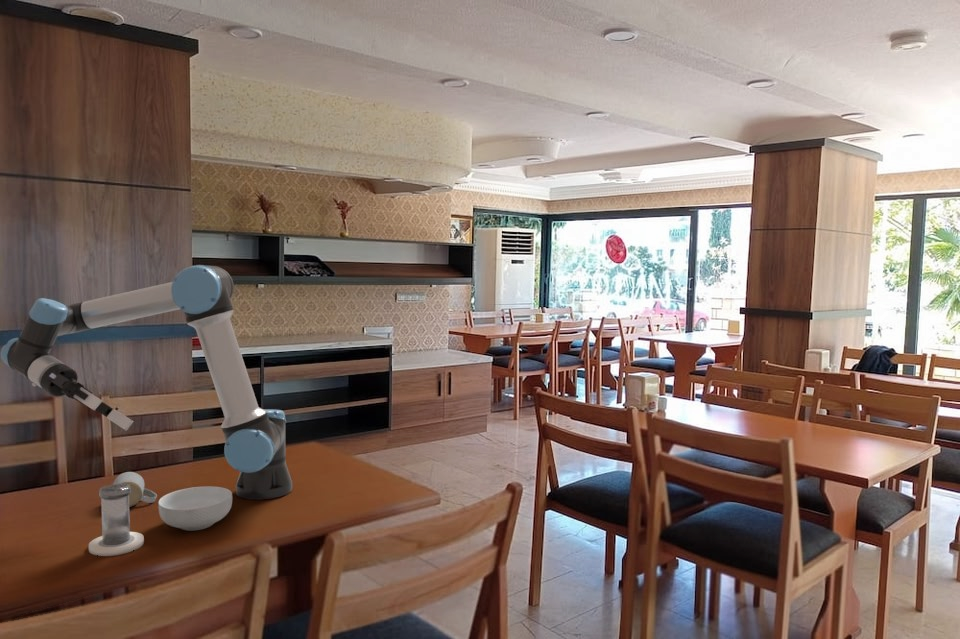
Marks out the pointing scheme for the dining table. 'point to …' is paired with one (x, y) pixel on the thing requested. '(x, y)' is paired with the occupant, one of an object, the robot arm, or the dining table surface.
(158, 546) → the dining table surface
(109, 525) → the lidded glass jar
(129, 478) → the ceramic mug
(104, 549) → the round white coaster
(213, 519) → the cereal bowl
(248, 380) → the robot arm
